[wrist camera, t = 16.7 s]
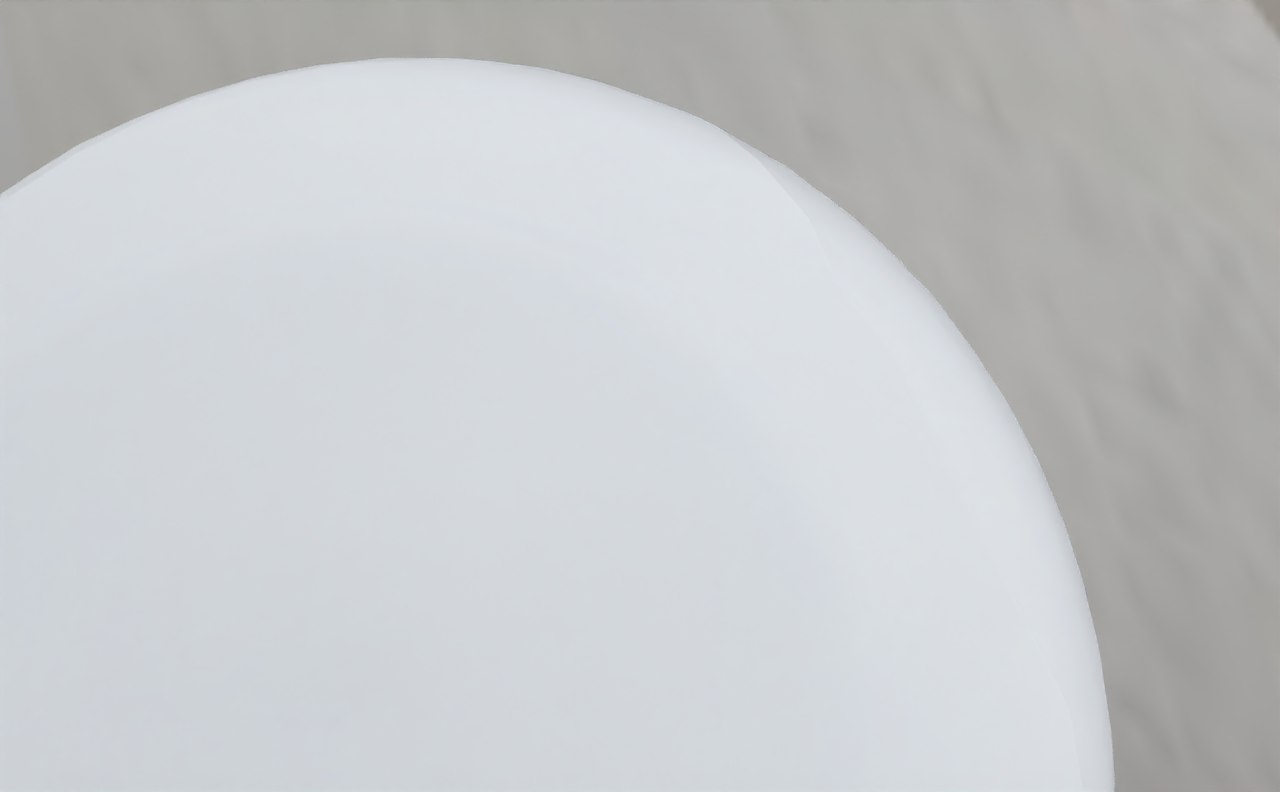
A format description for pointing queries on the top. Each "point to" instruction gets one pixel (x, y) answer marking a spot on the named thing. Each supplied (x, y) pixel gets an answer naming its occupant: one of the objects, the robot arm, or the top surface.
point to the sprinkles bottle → (505, 465)
